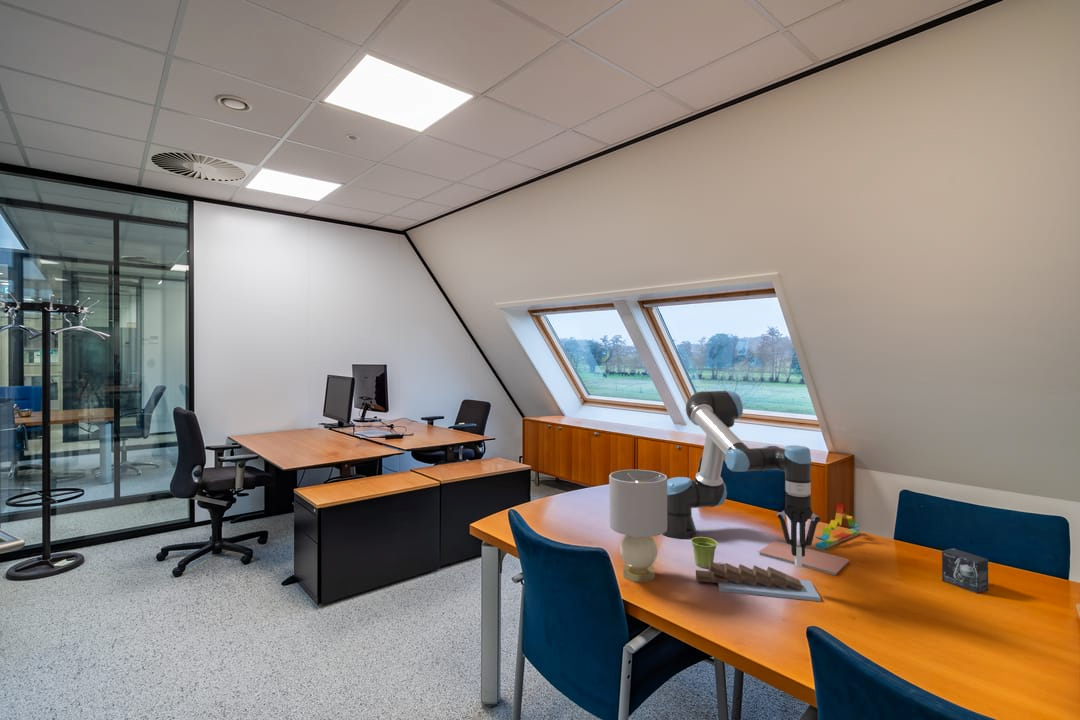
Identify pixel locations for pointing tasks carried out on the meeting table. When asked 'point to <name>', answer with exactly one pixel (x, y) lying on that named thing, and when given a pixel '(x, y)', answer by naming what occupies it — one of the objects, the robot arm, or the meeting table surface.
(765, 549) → the notebook
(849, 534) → the toy brick structure
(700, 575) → the domino
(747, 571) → the domino
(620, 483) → the lamp
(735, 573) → the domino
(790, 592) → the strip board
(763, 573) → the domino
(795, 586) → the domino
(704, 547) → the plant pot
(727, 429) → the robot arm
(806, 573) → the meeting table surface
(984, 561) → the box
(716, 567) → the domino
